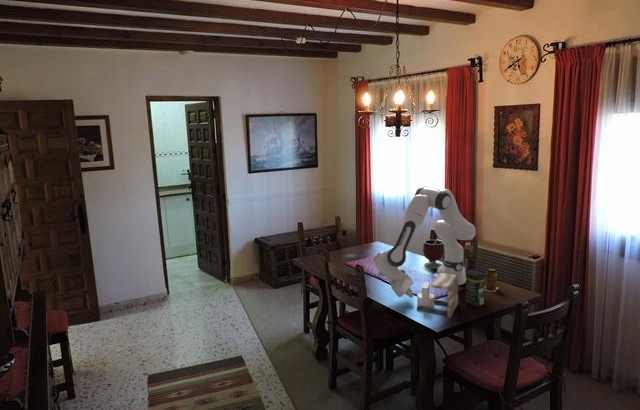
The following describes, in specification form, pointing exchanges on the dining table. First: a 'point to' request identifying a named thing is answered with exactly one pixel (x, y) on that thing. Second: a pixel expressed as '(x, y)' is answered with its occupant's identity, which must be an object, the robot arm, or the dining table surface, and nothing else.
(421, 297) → the base with upright slab
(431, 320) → the dining table surface
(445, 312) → the shelf
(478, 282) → the coffee jar
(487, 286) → the condiment
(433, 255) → the mate gourd
